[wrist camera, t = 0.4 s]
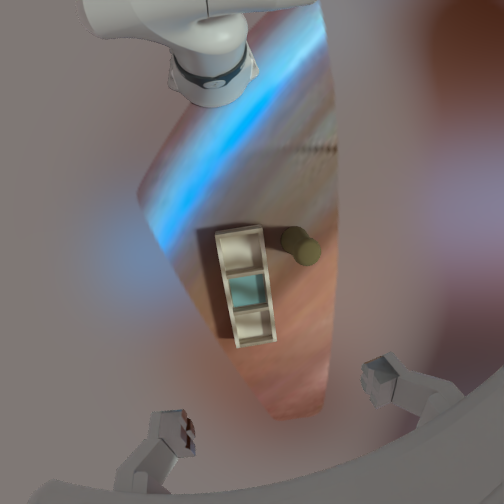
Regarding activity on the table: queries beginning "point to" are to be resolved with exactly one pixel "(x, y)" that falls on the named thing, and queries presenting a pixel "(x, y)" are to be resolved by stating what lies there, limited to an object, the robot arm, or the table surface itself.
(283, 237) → the cork
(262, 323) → the divided tray
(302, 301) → the table surface
